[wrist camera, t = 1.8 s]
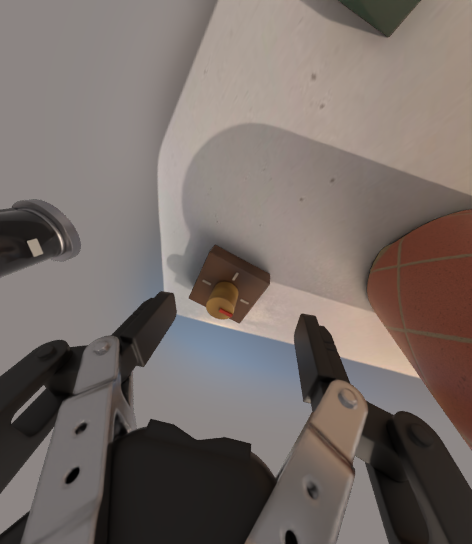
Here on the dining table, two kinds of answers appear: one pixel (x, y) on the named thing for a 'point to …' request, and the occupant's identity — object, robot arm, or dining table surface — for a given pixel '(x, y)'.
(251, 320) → the dining table surface
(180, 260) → the dining table surface
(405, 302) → the planter
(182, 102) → the dining table surface
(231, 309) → the dial
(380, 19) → the button base
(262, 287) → the console
